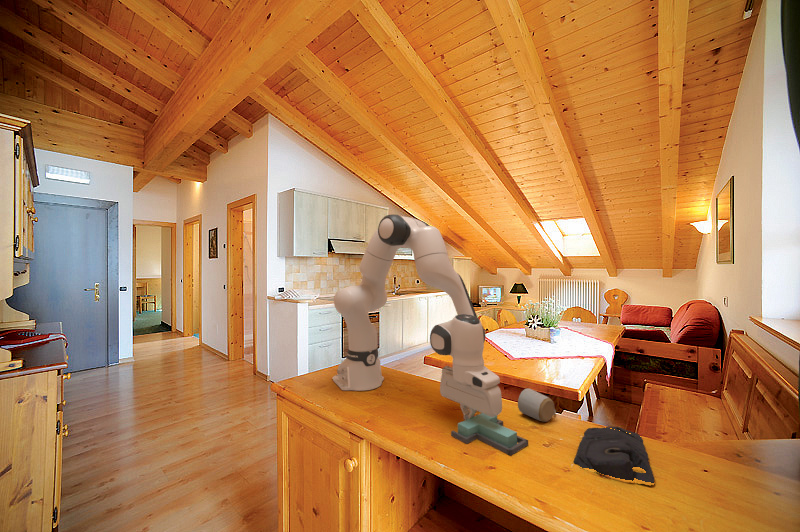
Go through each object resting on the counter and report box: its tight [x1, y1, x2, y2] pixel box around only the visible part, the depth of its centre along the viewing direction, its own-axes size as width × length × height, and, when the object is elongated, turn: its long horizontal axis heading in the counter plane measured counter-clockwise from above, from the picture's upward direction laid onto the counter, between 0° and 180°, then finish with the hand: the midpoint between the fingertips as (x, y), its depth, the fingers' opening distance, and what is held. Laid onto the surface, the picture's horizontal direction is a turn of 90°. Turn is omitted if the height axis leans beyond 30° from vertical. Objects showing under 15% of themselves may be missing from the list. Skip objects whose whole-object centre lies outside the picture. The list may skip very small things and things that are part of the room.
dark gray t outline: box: [450, 418, 529, 457], centre depth 90 cm, size 16×16×1 cm
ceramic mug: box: [517, 388, 557, 423], centre depth 102 cm, size 11×8×8 cm
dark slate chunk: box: [572, 426, 655, 483], centre depth 81 cm, size 15×22×5 cm
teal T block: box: [457, 412, 518, 448], centre depth 91 cm, size 13×12×3 cm
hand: (468, 420), depth 97 cm, fingers closed
